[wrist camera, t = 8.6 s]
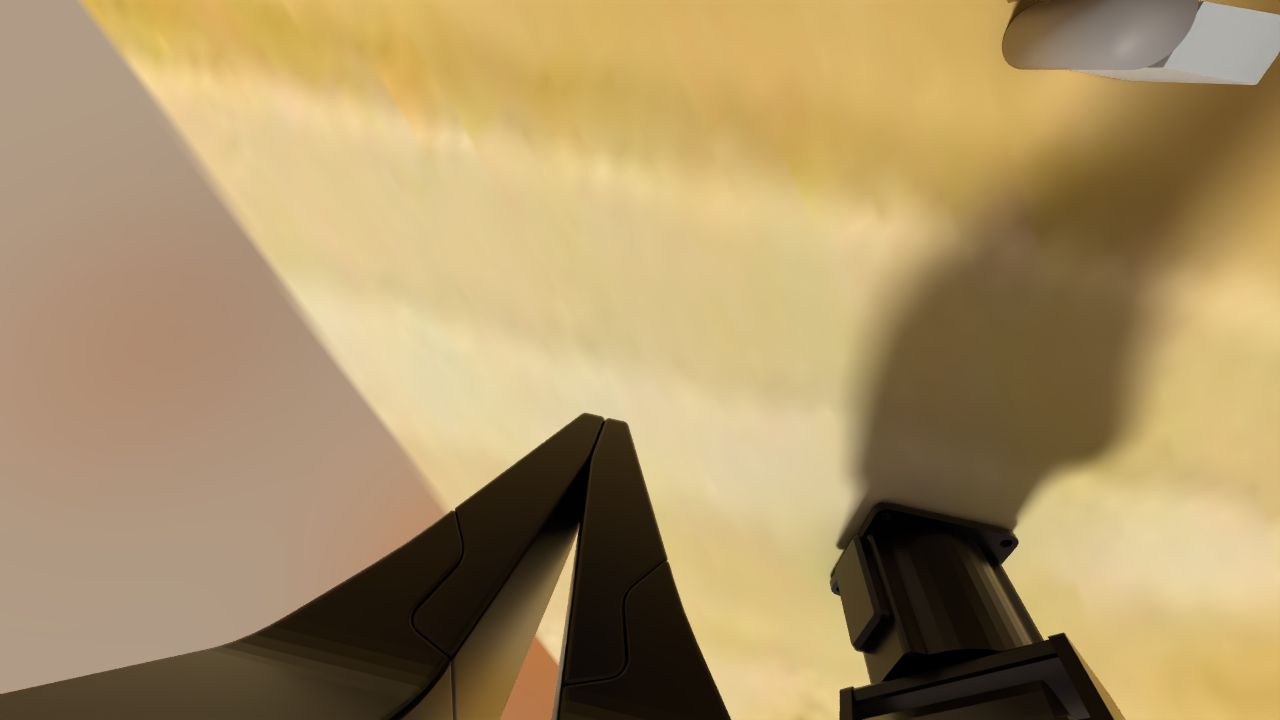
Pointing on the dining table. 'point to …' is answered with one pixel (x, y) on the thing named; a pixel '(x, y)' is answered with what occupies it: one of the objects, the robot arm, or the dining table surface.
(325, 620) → the robot arm
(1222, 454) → the dining table surface
